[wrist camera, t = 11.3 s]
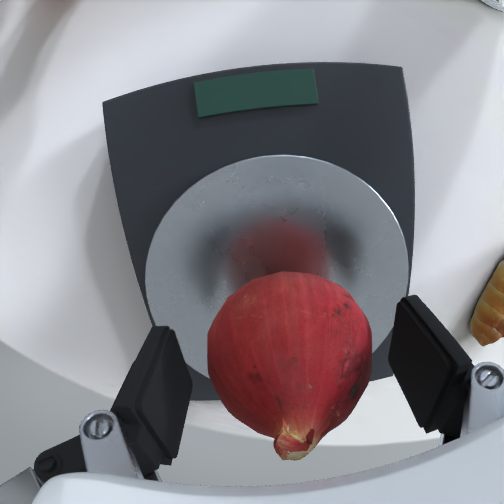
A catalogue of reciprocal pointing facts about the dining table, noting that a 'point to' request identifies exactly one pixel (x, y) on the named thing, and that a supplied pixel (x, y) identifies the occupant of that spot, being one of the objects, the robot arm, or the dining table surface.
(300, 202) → the scale pan
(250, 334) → the onion
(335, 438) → the dining table surface
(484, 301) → the pastry
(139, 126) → the scale
